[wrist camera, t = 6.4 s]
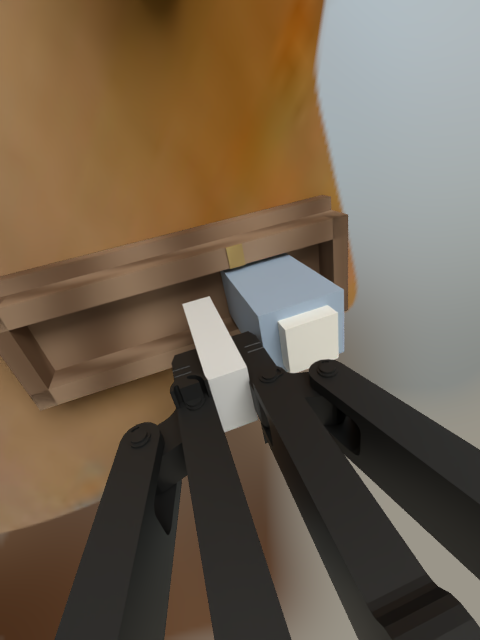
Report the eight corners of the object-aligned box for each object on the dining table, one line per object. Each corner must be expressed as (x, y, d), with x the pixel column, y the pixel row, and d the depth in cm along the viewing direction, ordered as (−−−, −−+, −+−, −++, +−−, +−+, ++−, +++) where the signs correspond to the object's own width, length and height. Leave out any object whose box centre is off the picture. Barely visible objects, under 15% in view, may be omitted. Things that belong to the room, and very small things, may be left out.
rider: (229, 313, 20) (275, 389, 14) (219, 266, 19) (264, 325, 12) (285, 296, 21) (354, 360, 14) (279, 249, 19) (354, 296, 13)
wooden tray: (57, 390, 21) (47, 422, 18) (-14, 280, 16) (-41, 301, 14) (326, 304, 24) (348, 321, 21) (322, 195, 20) (349, 200, 17)
